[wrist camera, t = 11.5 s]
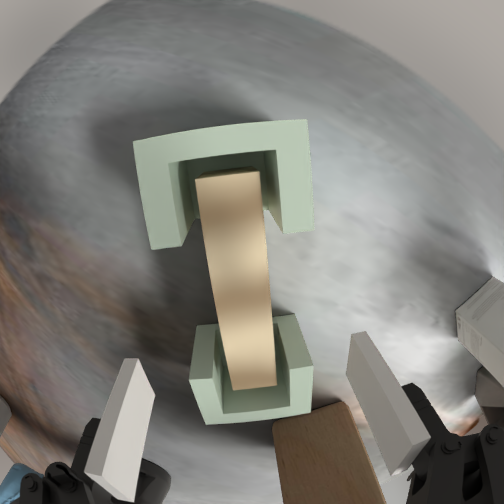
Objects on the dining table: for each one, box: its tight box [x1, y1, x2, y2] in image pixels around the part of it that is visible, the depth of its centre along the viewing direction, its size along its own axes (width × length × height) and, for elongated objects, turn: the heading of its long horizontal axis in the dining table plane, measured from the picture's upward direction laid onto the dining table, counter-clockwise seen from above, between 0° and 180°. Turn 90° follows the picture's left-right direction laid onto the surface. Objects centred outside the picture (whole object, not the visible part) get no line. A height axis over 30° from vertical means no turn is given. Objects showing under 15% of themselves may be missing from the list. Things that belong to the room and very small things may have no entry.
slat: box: [195, 166, 277, 390], centre depth 20 cm, size 16×4×5 cm, turn 6°
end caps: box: [133, 119, 314, 425], centre depth 20 cm, size 22×9×7 cm, turn 6°
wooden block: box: [272, 402, 386, 504], centre depth 23 cm, size 10×10×20 cm
